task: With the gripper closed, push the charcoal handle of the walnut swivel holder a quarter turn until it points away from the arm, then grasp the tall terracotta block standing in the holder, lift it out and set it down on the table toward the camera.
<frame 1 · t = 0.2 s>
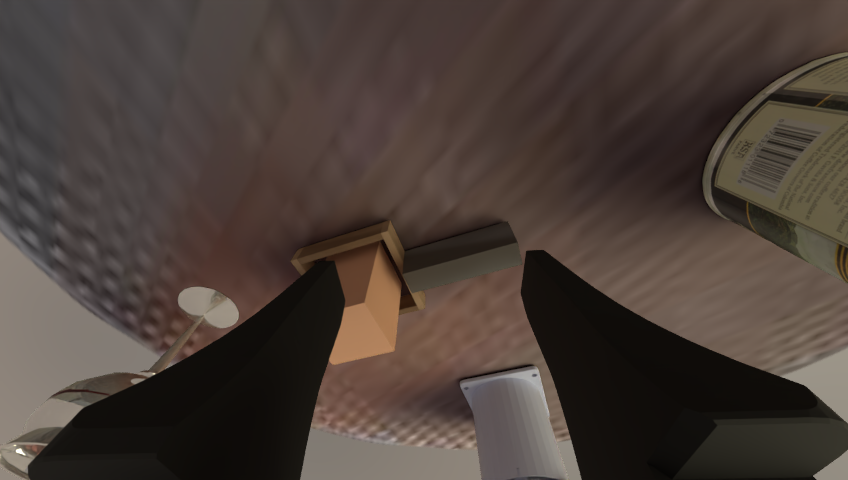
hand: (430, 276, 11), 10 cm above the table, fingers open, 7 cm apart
wineglass: (210, 306, 26), on the table
coffee can: (790, 146, 19), on the table
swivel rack: (410, 271, 22), point 2 cm above the table, hinge at 0.0°
block: (365, 270, 24), resting in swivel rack
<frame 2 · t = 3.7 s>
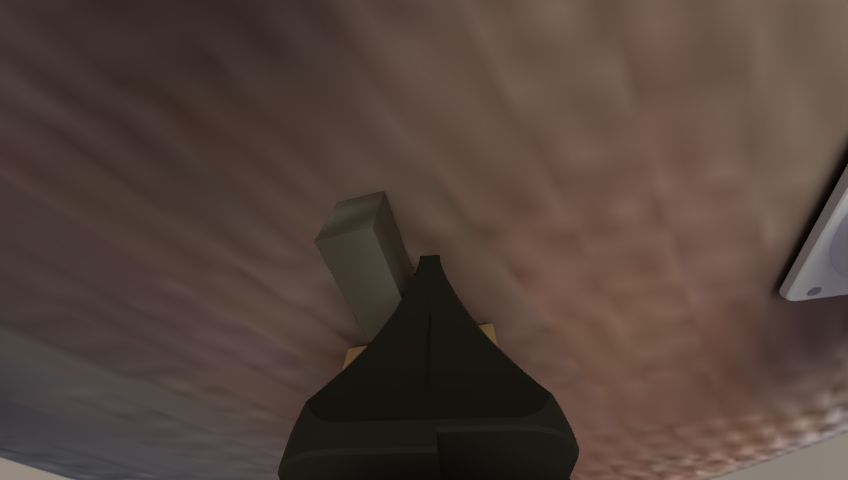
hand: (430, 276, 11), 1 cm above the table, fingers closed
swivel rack: (416, 357, 14), point 2 cm above the table, hinge at 3.5°, touching gripper
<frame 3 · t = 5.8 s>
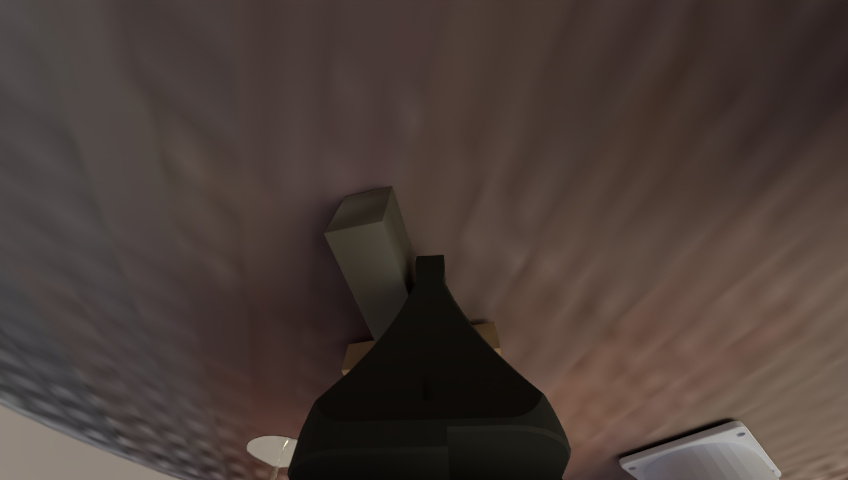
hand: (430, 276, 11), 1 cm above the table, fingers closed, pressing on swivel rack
wineglass: (282, 449, 22), on the table
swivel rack: (417, 354, 14), point 2 cm above the table, hinge at 59.5°, touching gripper
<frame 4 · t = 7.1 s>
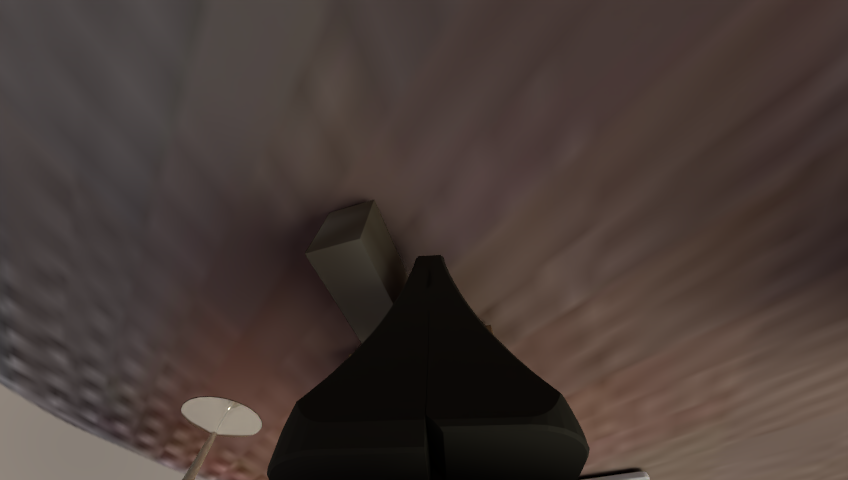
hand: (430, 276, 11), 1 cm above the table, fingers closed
wineglass: (224, 415, 20), on the table
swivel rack: (415, 362, 14), point 2 cm above the table, hinge at 86.6°, touching gripper
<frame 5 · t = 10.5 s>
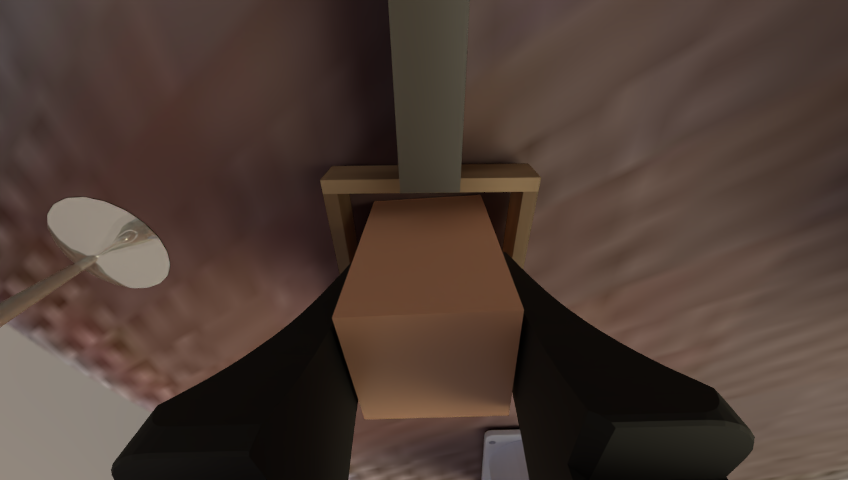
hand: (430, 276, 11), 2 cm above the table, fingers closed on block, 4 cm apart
wineglass: (115, 244, 14), on the table
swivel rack: (429, 172, 10), point 2 cm above the table, hinge at 87.0°
block: (430, 243, 14), resting in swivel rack, touching gripper
when the fingers open (3 cm above the table, at t = 14.4 s): block stays where it is, on the table.
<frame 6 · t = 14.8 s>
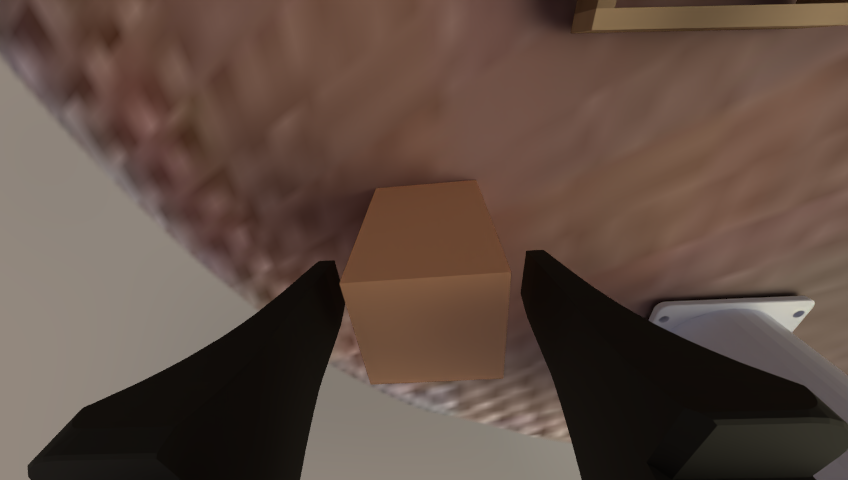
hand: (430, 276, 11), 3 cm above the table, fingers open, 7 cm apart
block: (429, 227, 14), on the table
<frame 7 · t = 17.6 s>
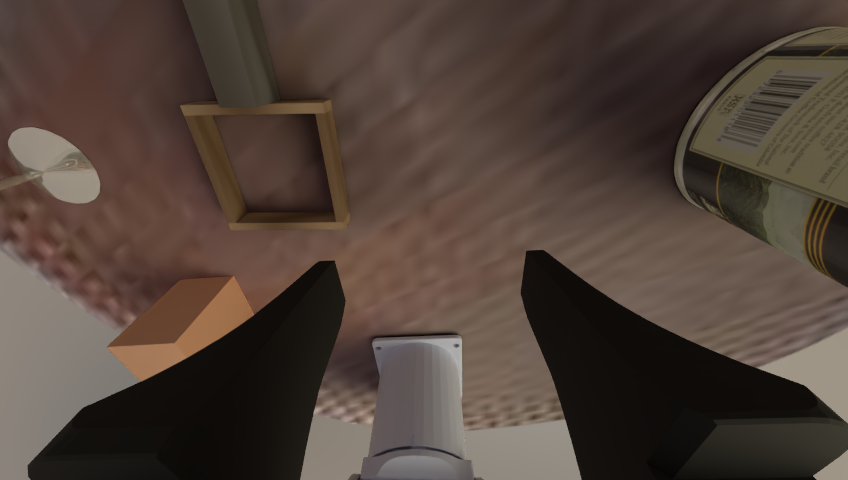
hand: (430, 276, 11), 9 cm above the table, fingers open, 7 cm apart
wineglass: (59, 167, 19), on the table
coffee can: (765, 131, 18), on the table
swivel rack: (251, 100, 15), point 2 cm above the table, hinge at 87.0°
block: (219, 298, 25), on the table
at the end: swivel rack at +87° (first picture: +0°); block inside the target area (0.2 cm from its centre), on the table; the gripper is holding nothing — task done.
